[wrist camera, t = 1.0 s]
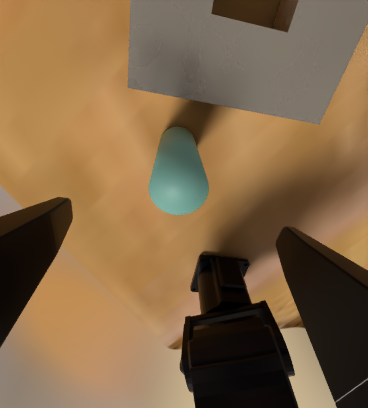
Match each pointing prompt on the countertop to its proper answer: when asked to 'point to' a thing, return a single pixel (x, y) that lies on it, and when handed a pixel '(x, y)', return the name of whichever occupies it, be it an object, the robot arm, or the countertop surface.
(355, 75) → the countertop surface
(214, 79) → the socket
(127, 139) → the countertop surface
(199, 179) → the long peg
